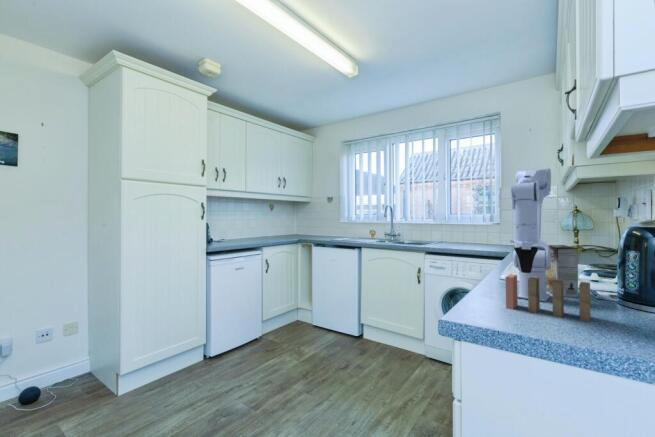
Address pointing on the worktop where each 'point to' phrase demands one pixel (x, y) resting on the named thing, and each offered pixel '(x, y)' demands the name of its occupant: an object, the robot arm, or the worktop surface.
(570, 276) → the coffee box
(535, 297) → the domino
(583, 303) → the domino
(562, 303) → the domino
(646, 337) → the worktop surface
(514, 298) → the domino
